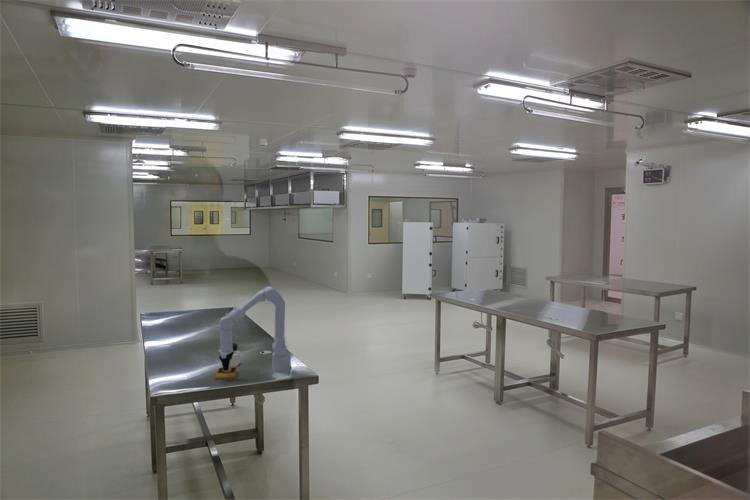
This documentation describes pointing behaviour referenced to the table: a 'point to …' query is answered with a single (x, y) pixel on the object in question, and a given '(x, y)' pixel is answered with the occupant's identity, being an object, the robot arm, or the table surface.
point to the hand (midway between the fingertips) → (226, 368)
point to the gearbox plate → (235, 374)
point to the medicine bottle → (235, 356)
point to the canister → (228, 369)
